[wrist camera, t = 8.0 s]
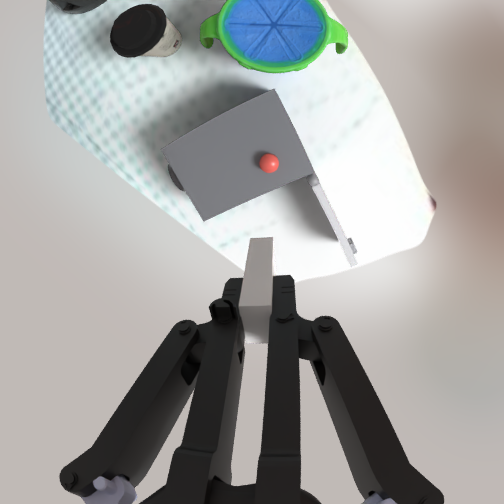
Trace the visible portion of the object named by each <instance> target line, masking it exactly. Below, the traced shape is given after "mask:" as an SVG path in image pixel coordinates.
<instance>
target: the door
mask: <svg viewBox="0 0 504 504" xmlns="http://www.w3.org/2000/svg"><path fill="white" fill-rule="evenodd" d="M306 178H307V180H308V183H309V185H310V186H311V187H312V189H313V190H314V192H315V194H316V196H317V198H318V200H319V202H320V204H321V206H322V208H323V210H324V212H325V214H326V216H327V218H328V220H329V222H330V224H331V226H332V228H333V230H334V232H335V234H336V236H337V238H338V240H339V242H340V244H341V247H342V249H343V251H344V253H345V255H346V257H347V260H348V262H349V264H350V266H351V267H352V266H354V265H356V264H358V263H357V261H356V259H355V256H354V254H355V253H357V250H356V248H355V246H354V243H353V241H352V239H351V238H349V239H347V238H346V236H345V234H344V232H343V230H342V227H341V225H340V223H339V221H338V219H337V217H336V215H335V213H334V211H333V209H332V207H331V205H330V203H329V201H328V199H327V197H326V195H325V193H324V191H323V189H322V187H321V185H320V183H319V179H318V177H317V175H316V174H315V173H312V174H310V175H307V176H306Z"/></svg>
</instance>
